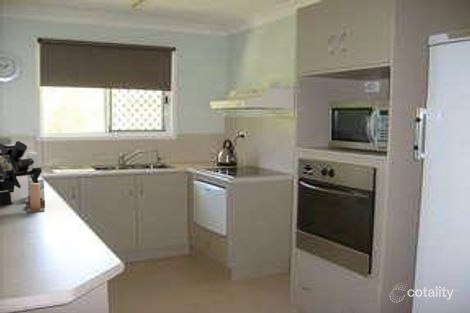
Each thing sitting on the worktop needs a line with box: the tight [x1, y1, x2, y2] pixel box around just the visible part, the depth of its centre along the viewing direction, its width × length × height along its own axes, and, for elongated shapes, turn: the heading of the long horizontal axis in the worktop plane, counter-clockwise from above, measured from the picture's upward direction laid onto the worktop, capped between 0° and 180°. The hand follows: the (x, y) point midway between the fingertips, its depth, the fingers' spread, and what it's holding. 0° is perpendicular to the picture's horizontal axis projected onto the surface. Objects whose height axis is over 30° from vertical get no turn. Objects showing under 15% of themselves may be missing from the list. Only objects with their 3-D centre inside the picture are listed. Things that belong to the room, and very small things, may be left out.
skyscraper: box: [25, 149, 41, 198], centre depth 284 cm, size 8×8×28 cm
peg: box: [30, 183, 40, 211], centre depth 239 cm, size 4×4×13 cm
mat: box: [26, 208, 45, 214], centre depth 239 cm, size 8×8×1 cm
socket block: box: [25, 197, 46, 210], centre depth 249 cm, size 9×9×4 cm
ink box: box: [27, 178, 45, 199], centre depth 273 cm, size 9×5×12 cm, turn 168°
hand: (28, 186), depth 242 cm, fingers open, 9 cm apart
